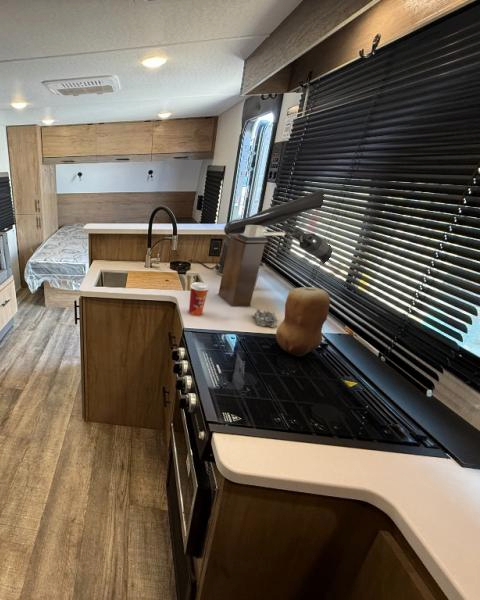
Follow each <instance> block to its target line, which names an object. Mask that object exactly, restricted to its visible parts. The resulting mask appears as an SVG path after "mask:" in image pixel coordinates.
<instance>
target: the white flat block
mask: <svg viewBox="0 0 480 600" xmlns="http://www.w3.org/2000/svg"><path fill="white" fill-rule="evenodd" d="M264 228H265V227H263V226H259V225H246V227H245V232H244V235H246V236H251V237H260V236H263V235H265V236H285V235H286V233H285V231H264Z"/></svg>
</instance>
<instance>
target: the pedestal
mask: <svg viewBox="0 0 480 600" xmlns="http://www.w3.org/2000/svg"><path fill="white" fill-rule="evenodd" d="M238 234H244V233H234V234H228V235H229V236H231V237H229V242H228V247H227V253H226V258H225V263H224V268H223V273H222V275H221V279H220V284H219V290H218V293H217V294H218V296H219V297H220V298H222V299H223V300H224V301H225V302H226V303H228V304H229V305H230V306H231V307H250V306H251V303H252V300H253V296H254V291H255V290H254V287H255V283H256V279H257V275H259V269H260V266H261V262H262V258H263V255H264V250H265V246H266V244H265V243H268V242H269V240H268V239H267V241H246V240H244V239H241V238H239V237H238Z"/></svg>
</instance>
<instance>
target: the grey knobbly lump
mask: <svg viewBox="0 0 480 600" xmlns="http://www.w3.org/2000/svg"><path fill="white" fill-rule="evenodd" d="M255 311H256V312H254V315H253V316H254V318H255V321H256V322H257V325H258V326H261V327H271V328H274V327H277V323H278V322H279V319H278V316H276V313H275V312H274V311H265V310H263V311H261V309H260V308H259V309H258V308H257V307H256V308H255Z"/></svg>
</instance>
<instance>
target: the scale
mask: <svg viewBox="0 0 480 600" xmlns="http://www.w3.org/2000/svg"><path fill="white" fill-rule="evenodd" d="M238 237H239V238H241V239H244V240H246V241H267V240H268V238H269V237H267V236H266V235H263V236H260V237H251V236H246V235H244V234H238Z"/></svg>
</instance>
